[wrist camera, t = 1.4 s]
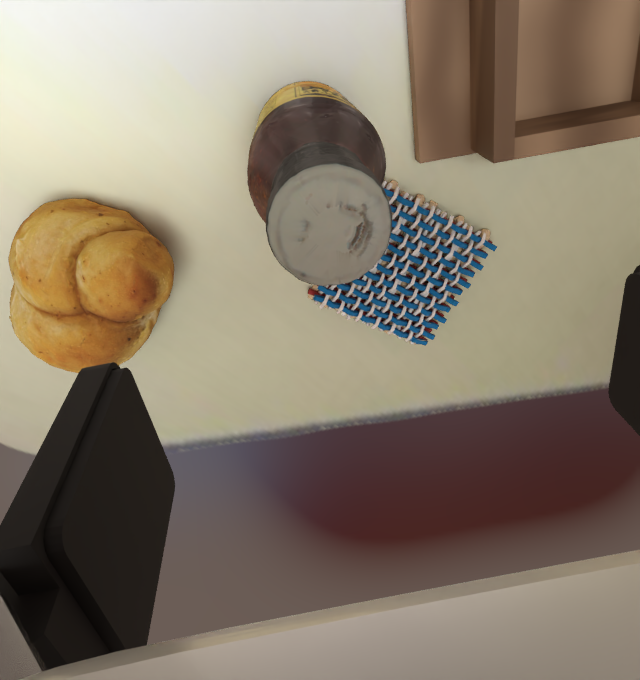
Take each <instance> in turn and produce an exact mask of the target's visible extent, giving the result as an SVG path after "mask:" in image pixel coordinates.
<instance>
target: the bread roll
mask: <svg viewBox="0 0 640 680" xmlns="http://www.w3.org/2000/svg"><path fill="white" fill-rule="evenodd" d="M9 265H10V270H11V274H12V277H13V280H14V285H13V288H12V291H11V298H10V315H11V316H9V318H10V319H11V322H12V326H13V329H14V332H15V334H16V336H17V337H18V338H19V340H20V341H21V342H22V343H23V344H24V345H25V346H26V347H27V348H28V349H29V351H30V352H31V353H32V354H34V355H35V356H36V357H37V358H40V359H42V360H43V361H45V362H46V363H48V364H49V365H51V366H54V367H57V368H61V369H64V370H66V371H71V372H76V373H79V372H80V370H81V369H82V368H85V367H91V366H96V365H101V364H107V363H112V362H114V363H117V364H118V366H119V365H120V364H121V363H123V362H125V361H127V360H129V359H130V358H131V357H132V356H133V355H134V354H135V353H136V352H137V351H138V350H139V349H140V348H141V346H142V345H143V344H144V343H145V341H146V340H147V339H148V337H149V336H150V334H151V332H152V329H153V326H154V325H155V323H156V321H157V318H158V315H159V312H160V309H161V306H162V304H163V303H164V302H166V301H167V299H168V298H169V296H170V293H171V289H172V286H173V277H174V263H173V260H172V257H171V256H170V254H169V253H168V250H167V248H166V247H165V246H164V245H163V244H162V243H161V242H160V241H159V240H158V239H157V238H156V237H154V236H152V235H151V234H150V232H149V231H148V230H147V229H146V228H145V227H144V226H143V225H142V224H141V223H140V222H138V221H137V220H135V219H134V218H133V217H132V216H131V215H130V214H129V212H126V211H124V210H117V209H114V208H111V207H107V206H103V205H100V204H98V203H96V202H91V201H89V200H88V199H65V200H57V201H53V202H48V203H45V204H43V205H42V206H40V207H39V208H38V209H36V210H35V211H34V212H33V213H32V214H31V215H30V216H29V217H28V218H27V219H26V220H25V221H24V222H23V223H22V224H21V226H20V227H19V229H18V231H17V232H16V235H15V237H14V239H13V242H12V245H11V249H10V254H9Z"/></svg>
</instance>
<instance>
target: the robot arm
mask: <svg viewBox="0 0 640 680" xmlns="http://www.w3.org/2000/svg"><path fill="white" fill-rule="evenodd" d="M609 398H610V401H611V403H612V405H613V407H614V408H615V410H616V411H617V412H618V413H619V414H620V415H621V416H622V417H623V418H624V419H625V420H626V421H627V423H628V424H629V425H630V426H631V427H632V428H633V429H634V430H635V431H636V432H637V433H638V435H639V436H640V265H639V266H637V268H636V269H635V271H634V273H633V274H630V275H629V276H628V277H627V279H626V283H625V288H624V295H623V301H622V307H621V314H620V320H619V327H618V333H617V339H616V346H615V352H614V358H613V365H612V371H611V378H610V384H609ZM174 491H175V481H174V475H173V472H172V469H171V467H170V464H169V462H168V459H167V457H166V455H165V452H164V450H163V447H162V445H161V443H160V440H159V438H158V435H157V433H156V431H155V428H154V426H153V423H152V421H151V419H150V416H149V414H148V411H147V409H146V407H145V404H144V402H143V399H142V397H141V395H140V392H139V390H138V387H137V385H136V383H135V380H134V378H133V375H132V373H131V371H130V370H129V369H128V368H122V369H120V367H119V366H118V364H117V363H114V362H112V363H107V364H101V365H96V366H91V367H85V368H82V369H81V370H80V372H79V374H78V376H77V378H76V380H75V382H74V383H73V385H72V387H71V389H70V391H69V393H68V395H67V397H66V399H65V401H64V403H63V405H62V407H61V409H60V411H59V413H58V415H57V416H56V418H55V420H54V422H53V424H52V426H51V428H50V430H49V432H48V434H47V436H46V438H45V440H44V442H43V444H42V446H41V448H40V449H39V451H38V453H37V455H36V457H35V459H34V461H33V463H32V465H31V467H30V469H29V471H28V473H27V475H26V477H25V479H24V480H23V482H22V484H21V486H20V488H19V490H18V492H17V494H16V496H15V498H14V500H13V502H12V504H11V506H10V508H9V510H8V512H7V513H6V515H5V517H4V519H3V521H2V523H1V525H0V680H640V550H636V551H631V552H626V553H620V554H615V555H609V556H605V557H599V558H593V559H588V560H582V561H577V562H572V563H566V564H561V565H556V566H550V567H546V568H540V569H535V570H529V571H524V572H518V573H513V574H508V575H503V576H497V577H492V578H486V579H482V580H476V581H471V582H465V583H460V584H455V585H450V586H445V587H439V588H433V589H428V590H423V591H418V592H412V593H407V594H402V595H397V596H391V597H386V598H381V599H377V600H371V601H366V602H360V603H355V604H350V605H345V606H340V607H335V608H329V609H325V610H319V611H314V612H309V613H304V614H299V615H293V616H288V617H283V618H278V619H273V620H267V621H262V622H257V623H252V624H247V625H242V626H237V627H231V628H226V629H222V630H218V631H212V632H207V633H203V634H198V635H193V636H188V637H184V638H179V639H174V640H170V641H165V642H160V643H155V644H151V645H147V640H148V635H149V629H150V624H151V618H152V613H153V607H154V602H155V596H156V591H157V585H158V579H159V574H160V568H161V563H162V557H163V551H164V546H165V541H166V535H167V530H168V524H169V518H170V513H171V508H172V502H173V497H174Z"/></svg>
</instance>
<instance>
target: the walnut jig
mask: <svg viewBox="0 0 640 680" xmlns="http://www.w3.org/2000/svg"><path fill="white" fill-rule="evenodd" d="M406 12H407V29H408V45H409V61H410V77H411V93H412V109H413V125H414V141H415V158H416V160H417V161H418V162H419V163H424V162H430V161H435V160H440V159H446V158H451V157H457V156H462V155H468V154H473V153H478V154H479V155H481V156H483V157H484V158H486V159H488V160H489V161H491V162H493V163H497V162H503V161H508V160H514V159H519V158H525V157H530V156H536V155H541V154H547V153H552V152H558V151H563V150H569V149H574V148H579V147H585V146H590V145H596V144H601V143H607V142H612V141H618V140H623V139H629V138H634V137H640V0H406Z"/></svg>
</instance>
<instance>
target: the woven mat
mask: <svg viewBox="0 0 640 680" xmlns="http://www.w3.org/2000/svg"><path fill="white" fill-rule="evenodd" d="M386 184H387V182H386V181H385V180H384V182H383V184H382V186H383V188H384V190H385V193H386V195H387V198H388V200H389V199H390V197H392V198H391V199H390V200H389V204H390V207H391V211H392V227H394V229H393V230H392V229H391V236H390V240H389V244H388V247H387V249H386V251H385V253H384V255H383V256H382V257H381V258H380V260H379V261H378V262H377V263H376V265H375V266H374V267H373V268H372V269H371V270H369V271H368V272H367V273H365V274H364V277H360V278H358V279H355V280H353V281H351V282H349V283H343V284H339V285H327V286H319V285H313V287H312V289H309V290H308V294H309V295H308V297H309V298H310V299H311V300H313V299H314V300H315V304H318V301H319V302H322V303H321V305H320V306H319V308H320V309H322V308H323V307H325V308H326V307H328V309H330V310H331V308H334V309H335V310H337V313H340V312H341V311H343V312H342V314H341V315H343V316H345V314H348V315H347V317H346V319H348V320H350V318H355V317H356V318H355V321H358V320H359V319H360V320H362V322H361V323H363V324H364V323H365V322H366V325H367V326H369V325H370V323H373V324H374V325H373V326H372V327H371V328H372V329H375V328H376V327H377V326H378V327H379V330H380V331H382V330H384V332H386V333H387V334H389V335H390V334H391V333H394V334H393V335H397V336H398V337H397V338H400V339H401V337H403V338H406V339H405V341H406V342H408V341H409V340H410V344H422V345H425V346H426V344H427V343H428V341H427V339H426V338H424V337H422V336H420V335H424V336H426V337H427V338H429V339H432V340H433V339H434V337H435V335H434V334H431V333H430V332H431V331H432V329H429V328H434V329H436V330H437V328H438V327H439V325H438V322H436V321H434V320H432V318H435V319H436V320H438V321H440V322H442V323H445V322H446V320H447V319H445V318H444V317H443V316H444V315H443V314H442V313H440V312H438V311H436V310H437V309H438V310H442V311H446V312H449V311H450V309H451V308H450V306H449V305H447V304H444V302H446V301H447V302H449V303H450V304H452V305H454V306H457V304H458V303H459V302H458V301H456V300H454V296H453V295H451V293H455V294H458V295H461V293H462V291H463V290H461V288H459V287H457V286H455V285H454V284H455V283H459V284H460V285H462V286H464V287H466V288H469V287H470V285H471V284H470V283H468V282H467V279H465V278H463V277H461V276H460V275H461V273H462V274H464V275H467V276H470V277H473V276H474V275H475V272H474V271H472V270H470V269H468V268H466V266H467V265H469V264H470V265H472V266H473V267H475V268H477V269H479V270H482V268H483V267H484V266H483V265H481V264H480V262H479V261H477V260H475V259H473V255H474V254H475V255H477V256H479V257H482V258H484V259H486V257H487V256H488V254H487V253H486V252H485V251H483V250H481V248H482V247H484V246H486V247H488V248H489V249H491V250H493V251H495V249H496V248H497V246H495V245H493V244H492V243H493V242H491V241H490V240H489V237H490V231H489V230H488V229H482V231H477V232H476V233H474V232H472V230H473V227H472V226H469V225H468V224H467V223H465V224H464V217H462V216H460V215H459V216H458V217H456V218H454V216H451V215H450V218H449V219H447V212H442V213H441V214H439V213H440V211H441V210H440V209H437V210H436V212H434V211H435V208H436V207H437V205H438V204H437V203H435V202H434V201H432V200H430V202H429V203H427V202H426V203H425V204H424V201H425V198H424V195H420V194H418V195H417V196H416V198H415V201H414V200H412V199H413V196H411V195H410V196H409V194H408V193H407V192H404V191H402V192H401V194H398V192H399V189H400V188H399V187H398V182H396V181H394V180H392V181H391V182H390V183H388V184H387V185H386ZM385 185H386V187H385ZM408 196H409V198H407V197H408ZM394 200H396V202H395V204H394V205H393V204H392V203H393V201H394ZM403 205H405V206H404V208H403V209H401V207H402V206H403ZM408 207H409V208H408ZM417 214H418V215H417ZM397 215H399V216H400V217H399V220H396V219H395V218H396V216H397ZM416 215H417V217H416ZM430 218H431V220H430V222H429V223H428V222H427V221H428V220H429V219H430ZM434 221H436V222H435V224H433V223H434ZM410 222H413V224H412V225H411V226H408V225H409V223H410ZM463 224H464V226H463V227H462V226H461V225H463ZM444 225H446V226H445V227H444ZM422 229H425V230H424V231H423V233H422ZM428 231H429V232H428ZM404 232H405V233H406V234H405V237H404V236H402V235H403V233H404ZM455 232H457V233H458V235H457V236H456V237H455ZM426 234H427V235H426ZM479 234H480V235H479ZM408 236H409V237H408ZM436 238H437V239H436ZM468 238H470V239H471V240H470V243H467V242H465V241H466V240H467V239H468ZM417 239H419V242H418V243H416V242H415V241H416V240H417ZM398 242H400V243H401V244H400V245H397V243H398ZM450 242H452V246H449V245H448V244H449V243H450ZM430 245H432V247H431V248H430V249H428V247H429V246H430ZM463 248H464V249H466V250H465V251H463ZM413 249H414V251H413V252H412V250H413ZM462 251H463V252H462ZM392 252H394V255H393V256H392V255H391V253H392ZM443 252H444V253H447V255H446V256H445V257H444V256H442V253H443ZM423 255H425V258H422V257H423ZM407 259H408V260H407ZM406 260H407V262H405V261H406ZM455 260H457V262H454V261H455ZM438 261H439V262H440V263H441V264H440V265H439V266H438V265H436V263H437V262H438ZM388 262H390V263H389V264H388ZM418 264H420V266H419V267H416V266H417V265H418ZM448 267H451V268H453V269H452V270H451V271H448V270H446V269H447V268H448ZM399 268H400V269H402V270H401V271H399V270H398V269H399ZM422 268H423V269H422ZM432 272H435V273H434V274H433V273H432ZM381 273H382V274H381ZM411 274H413V277H411ZM442 275H443V276H444V277H445V280H443V279H441V277H442ZM394 277H395V278H396V280H395V279H393V278H394ZM375 280H376V281H378V282H377V283H374V282H375ZM426 280H427V281H429V282H428V284H426V283H424V282H425V281H426ZM408 283H409V284H408ZM436 285H437V286H441V287H440V288H435V286H436ZM387 287H392V288H390V289H387ZM338 288H339V289H338ZM418 289H419V290H422V291H423V292H419V291H418ZM342 290H343V291H342ZM369 290H371V292H369ZM400 294H401V295H400ZM430 294H432V295H433V298H432V297H430V296H429V295H430ZM383 295H384V296H383ZM404 295H405V296H404ZM382 296H383V298H382ZM338 298H339V299H338ZM414 298H416V299H414ZM364 299H368V300H364ZM394 301H398V302H397V303H394ZM346 303H347V304H346ZM427 304H429V305H428V306H427ZM407 307H408V308H409V309H407ZM358 308H360V309H358ZM388 310H391V311H390V312H389V311H388ZM393 312H394V313H393ZM420 313H422V314H420ZM402 316H403V317H402ZM383 318H386V320H385V319H383ZM412 321H418V322H417V323H414V322H412ZM426 327H428V328H426ZM407 329H409V330H410V331H409V330H407Z"/></svg>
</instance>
